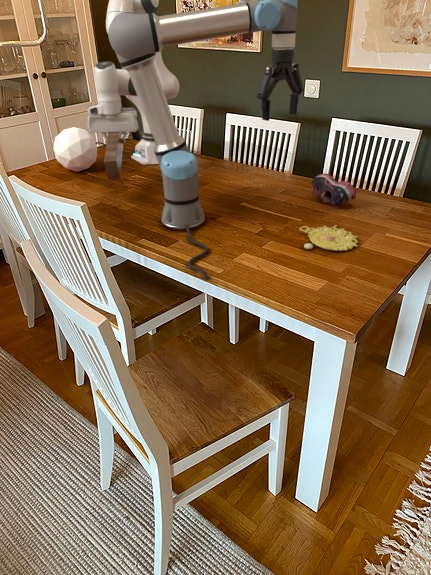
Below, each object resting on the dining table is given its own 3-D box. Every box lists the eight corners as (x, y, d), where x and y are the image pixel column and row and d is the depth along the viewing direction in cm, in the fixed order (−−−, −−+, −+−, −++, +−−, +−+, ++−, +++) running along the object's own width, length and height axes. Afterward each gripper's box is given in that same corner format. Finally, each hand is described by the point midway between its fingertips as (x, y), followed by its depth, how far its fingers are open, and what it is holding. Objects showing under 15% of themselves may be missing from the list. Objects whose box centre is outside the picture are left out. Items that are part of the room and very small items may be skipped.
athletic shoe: (320, 172, 177) (296, 180, 173) (357, 167, 157) (330, 175, 153) (326, 200, 180) (302, 208, 176) (363, 198, 160) (336, 207, 156)
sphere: (84, 186, 210) (70, 160, 191) (54, 166, 215) (37, 139, 196) (110, 158, 215) (99, 131, 196) (80, 139, 219) (66, 110, 201)
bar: (120, 179, 168) (116, 160, 163) (108, 180, 168) (103, 161, 162) (123, 145, 188) (119, 127, 182) (112, 146, 188) (108, 128, 182)
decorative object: (343, 255, 128) (285, 234, 139) (342, 262, 130) (284, 241, 140) (372, 230, 142) (317, 213, 152) (371, 237, 143) (316, 219, 153)
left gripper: (137, 105, 178) (142, 140, 186) (88, 106, 179) (94, 141, 187) (134, 108, 173) (138, 144, 180) (83, 109, 174) (89, 145, 182)
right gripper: (300, 45, 153) (295, 110, 164) (246, 51, 140) (246, 121, 151) (317, 46, 148) (311, 113, 159) (263, 52, 135) (261, 124, 146)
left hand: (115, 143), depth 184 cm, fingers closed on bar, 5 cm apart
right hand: (279, 117), depth 155 cm, fingers open, 13 cm apart
